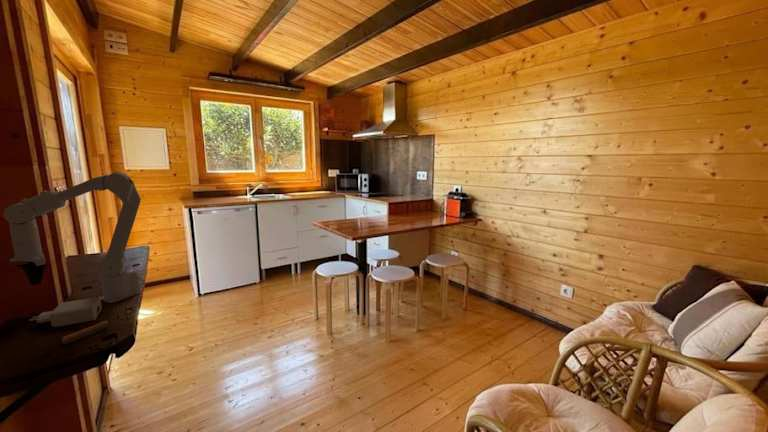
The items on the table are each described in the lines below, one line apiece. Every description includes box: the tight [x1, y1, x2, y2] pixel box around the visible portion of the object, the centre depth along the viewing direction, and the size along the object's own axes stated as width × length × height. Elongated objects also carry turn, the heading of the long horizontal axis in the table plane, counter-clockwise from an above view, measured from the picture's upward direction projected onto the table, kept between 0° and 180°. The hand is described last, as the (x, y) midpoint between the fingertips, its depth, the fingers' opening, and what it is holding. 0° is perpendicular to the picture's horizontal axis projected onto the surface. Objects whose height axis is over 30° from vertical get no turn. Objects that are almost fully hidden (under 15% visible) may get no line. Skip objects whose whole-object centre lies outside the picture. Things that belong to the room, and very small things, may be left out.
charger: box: [28, 296, 103, 328], centre depth 97 cm, size 5×9×15 cm
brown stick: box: [61, 320, 110, 345], centre depth 90 cm, size 10×1×2 cm, turn 156°
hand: (34, 283), depth 101 cm, fingers closed
